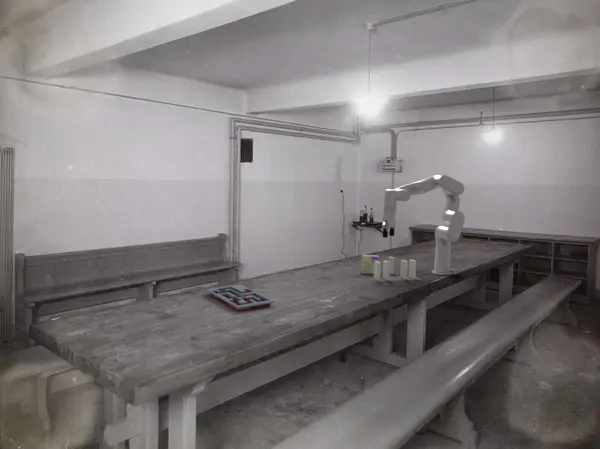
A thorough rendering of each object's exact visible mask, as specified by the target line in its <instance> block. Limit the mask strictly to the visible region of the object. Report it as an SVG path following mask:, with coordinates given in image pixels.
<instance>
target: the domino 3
mask: <svg viewBox="0 0 600 449" xmlns="http://www.w3.org/2000/svg"><path fill="white" fill-rule="evenodd" d="M387 261H389V262H390V272H389V275H394V274H395V263H396V262H395V261H396V258H395V257H393V256H388V258H387Z"/></svg>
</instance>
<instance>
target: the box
mask: <svg viewBox="0 0 600 449" xmlns="http://www.w3.org/2000/svg"><path fill="white" fill-rule="evenodd" d="M379 258H380V256H379V255H377V254H376V255H375V254H362V256H361V270H360V271H361V274H370V275H371V274H372V275H374V261H379ZM379 262H380V261H379Z"/></svg>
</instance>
